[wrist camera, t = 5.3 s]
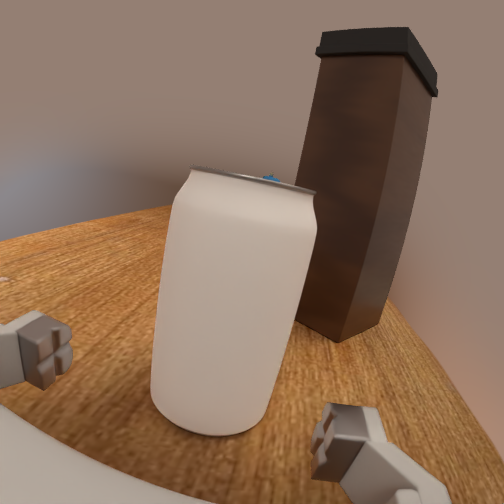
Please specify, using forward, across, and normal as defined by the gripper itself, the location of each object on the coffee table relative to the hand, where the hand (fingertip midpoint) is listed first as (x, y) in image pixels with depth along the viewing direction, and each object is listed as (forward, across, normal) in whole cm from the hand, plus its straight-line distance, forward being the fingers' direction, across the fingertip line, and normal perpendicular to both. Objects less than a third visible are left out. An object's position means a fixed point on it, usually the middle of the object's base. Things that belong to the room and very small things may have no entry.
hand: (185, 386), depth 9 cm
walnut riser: (+25, -8, +6) cm, 27 cm away
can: (+7, 0, +6) cm, 9 cm away
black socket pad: (+25, -8, -20) cm, 33 cm away
